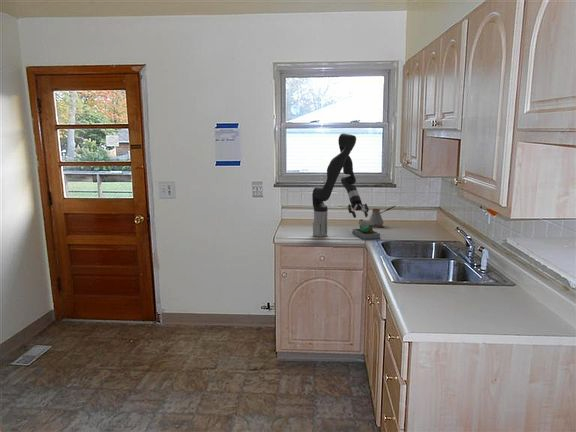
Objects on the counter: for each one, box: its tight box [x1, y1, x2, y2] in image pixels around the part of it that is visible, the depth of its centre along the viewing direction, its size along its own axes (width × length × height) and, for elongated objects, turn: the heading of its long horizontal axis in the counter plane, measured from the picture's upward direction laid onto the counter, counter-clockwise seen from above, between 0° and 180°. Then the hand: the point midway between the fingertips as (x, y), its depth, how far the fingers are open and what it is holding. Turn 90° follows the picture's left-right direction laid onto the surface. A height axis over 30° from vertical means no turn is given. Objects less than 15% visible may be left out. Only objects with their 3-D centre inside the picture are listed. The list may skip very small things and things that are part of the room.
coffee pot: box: [368, 205, 397, 228], centre depth 324 cm, size 21×12×15 cm, turn 99°
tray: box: [351, 228, 381, 241], centre depth 293 cm, size 12×18×4 cm, turn 16°
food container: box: [358, 218, 374, 234], centre depth 292 cm, size 12×6×10 cm, turn 30°
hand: (361, 217), depth 299 cm, fingers open, 8 cm apart
